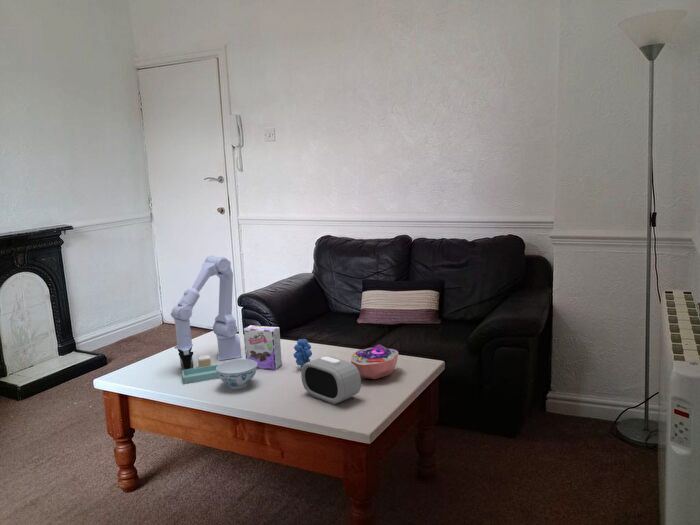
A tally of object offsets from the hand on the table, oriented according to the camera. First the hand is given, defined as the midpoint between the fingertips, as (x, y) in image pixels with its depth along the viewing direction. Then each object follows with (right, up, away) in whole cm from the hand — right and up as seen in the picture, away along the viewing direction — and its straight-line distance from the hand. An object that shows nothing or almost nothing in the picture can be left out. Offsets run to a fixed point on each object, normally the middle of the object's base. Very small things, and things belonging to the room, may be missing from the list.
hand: (187, 366), depth 233 cm
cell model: (+76, -1, -17) cm, 78 cm away
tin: (0, -2, 0) cm, 2 cm away
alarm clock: (+60, -4, -34) cm, 69 cm away
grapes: (+49, 0, -3) cm, 49 cm away
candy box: (+31, 0, 0) cm, 31 cm away
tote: (+8, -3, -8) cm, 12 cm away
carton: (+7, -1, +3) cm, 7 cm away
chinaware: (+25, -4, -19) cm, 31 cm away
